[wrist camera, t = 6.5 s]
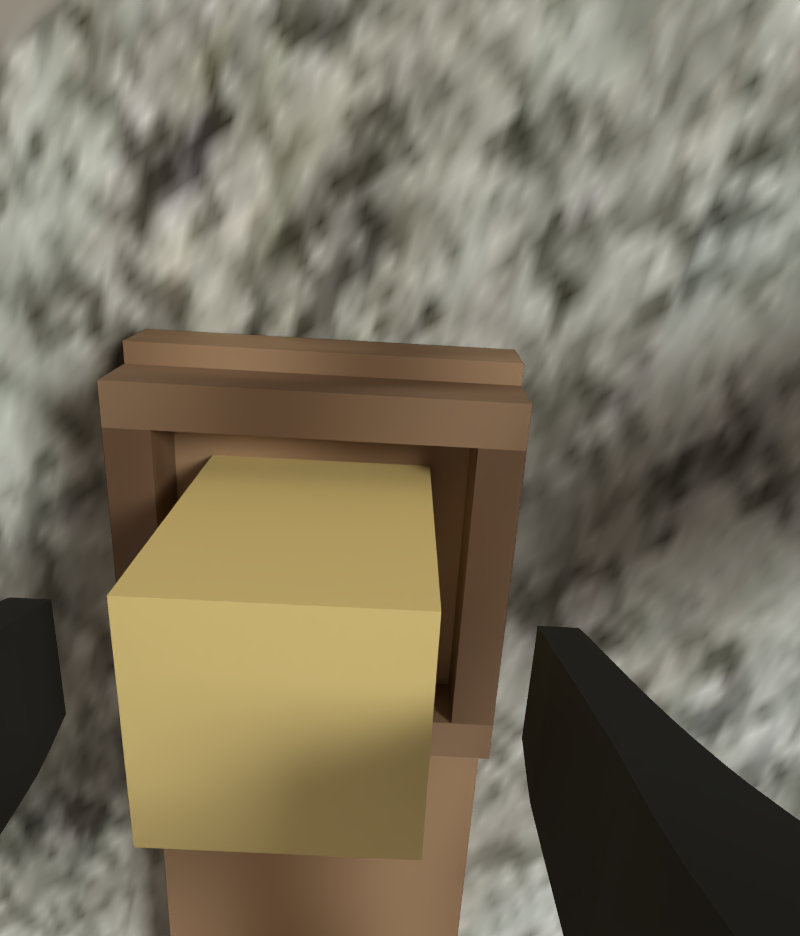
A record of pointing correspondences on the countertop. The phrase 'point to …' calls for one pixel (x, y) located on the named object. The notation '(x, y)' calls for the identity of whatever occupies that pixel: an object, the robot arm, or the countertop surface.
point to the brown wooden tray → (458, 556)
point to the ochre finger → (282, 661)
